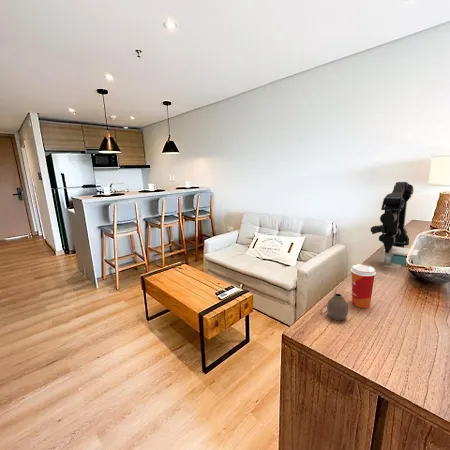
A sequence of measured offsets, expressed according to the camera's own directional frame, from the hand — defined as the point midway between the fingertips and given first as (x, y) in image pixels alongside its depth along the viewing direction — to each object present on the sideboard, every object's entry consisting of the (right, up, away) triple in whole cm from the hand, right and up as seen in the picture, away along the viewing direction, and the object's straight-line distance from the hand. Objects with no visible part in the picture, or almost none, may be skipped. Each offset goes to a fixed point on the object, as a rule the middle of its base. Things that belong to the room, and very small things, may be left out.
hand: (388, 250), depth 123 cm
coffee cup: (-31, -18, -29) cm, 46 cm away
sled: (+6, -8, +3) cm, 10 cm away
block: (+9, -6, +4) cm, 12 cm away
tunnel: (+9, -8, +5) cm, 13 cm away
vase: (-43, -20, -36) cm, 60 cm away
